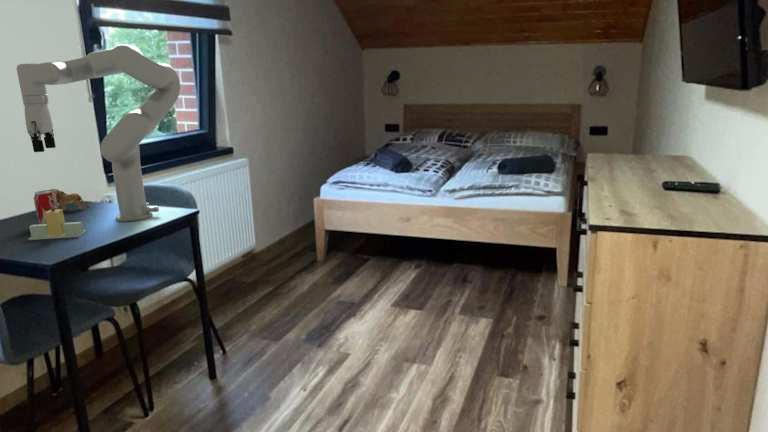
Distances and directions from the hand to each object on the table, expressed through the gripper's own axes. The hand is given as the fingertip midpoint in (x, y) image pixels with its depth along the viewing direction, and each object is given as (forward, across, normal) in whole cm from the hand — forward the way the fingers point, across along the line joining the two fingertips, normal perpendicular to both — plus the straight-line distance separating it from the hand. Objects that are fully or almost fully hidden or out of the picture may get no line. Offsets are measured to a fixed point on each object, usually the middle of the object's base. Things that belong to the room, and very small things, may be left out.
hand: (45, 149), depth 199 cm
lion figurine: (+27, -20, -4) cm, 34 cm away
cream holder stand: (+27, +18, +6) cm, 33 cm away
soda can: (+27, +1, -3) cm, 27 cm away
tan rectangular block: (+26, +18, +6) cm, 33 cm away
